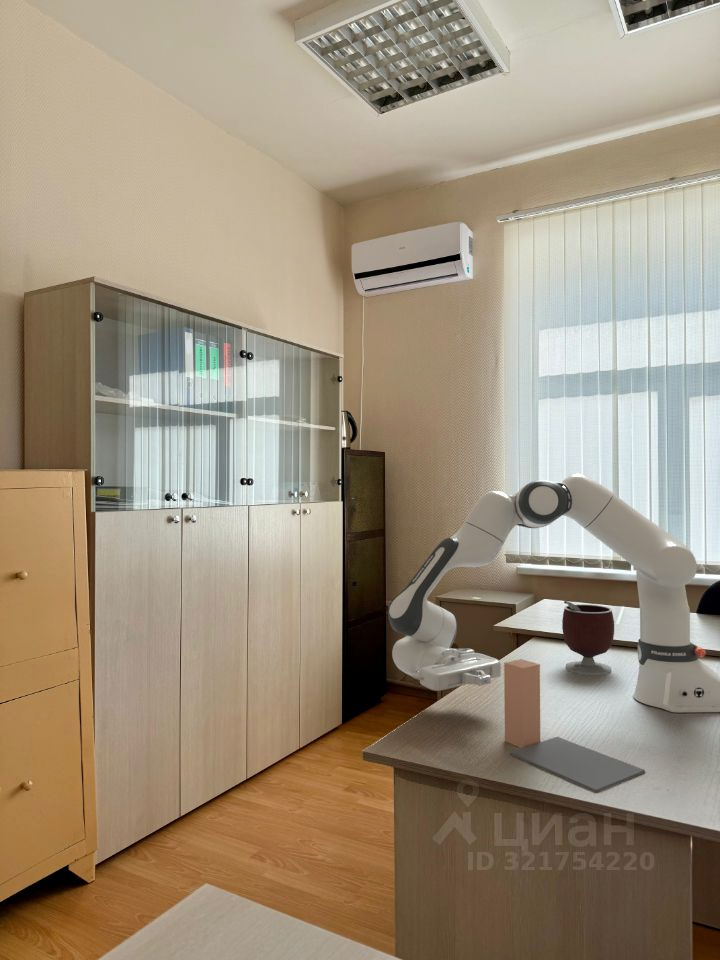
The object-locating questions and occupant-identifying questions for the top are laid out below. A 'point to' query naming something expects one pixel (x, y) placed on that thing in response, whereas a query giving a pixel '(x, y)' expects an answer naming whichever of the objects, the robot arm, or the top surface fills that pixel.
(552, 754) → the charcoal mat
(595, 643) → the mate gourd
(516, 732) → the terracotta block
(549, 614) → the top surface
